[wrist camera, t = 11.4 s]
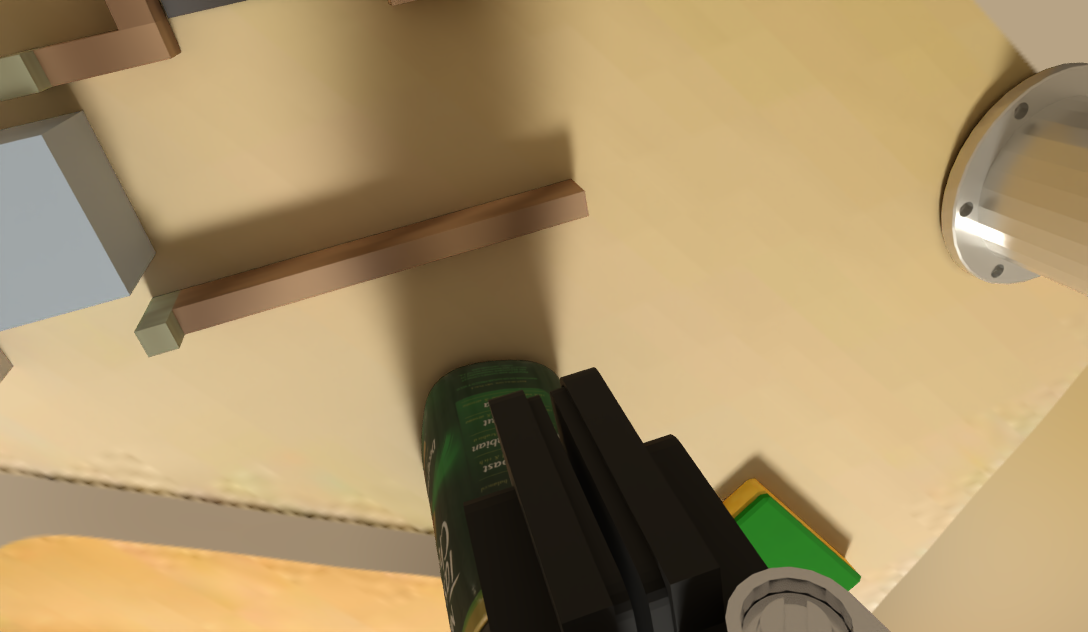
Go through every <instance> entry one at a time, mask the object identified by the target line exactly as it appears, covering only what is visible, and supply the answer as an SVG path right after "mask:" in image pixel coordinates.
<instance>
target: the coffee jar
mask: <svg viewBox="0 0 1088 632" xmlns="http://www.w3.org/2000/svg"><path fill="white" fill-rule="evenodd" d="M558 388H561V385H560V379H559V378H558V376H557V375H556V374H555V373H554V372H553V371H552V370H551V369H549V368H547V367H546V366H544V365H541V364H538V363H535V362H531V361H523V360H498V361H488V362H481V363H475V364H471V365H467V366H464V367H460V368H458V369H455V370H453V371H452V372H450V373H448V374H447V375H445V376H444V377H442V378H441V379H440V380H439V381H438V382H437V383H436V384H435V385H434V387H433V388H432V389H431V391H430V393H429V395H428V398H427V400H426V404H425V409H424V415H423V424H422V436H421V438H422V462H423V470H424V476H425V482H426V487H427V494H428V498H429V503H430V509H431V515H432V520H433V528H434V533H435V540H436V546H437V552H438V558H439V565H440V573H441V579H442V583H443V589H444V596H445V601H446V608H447V612H448V618H449V624H450V629H451V632H490V627H489V622H488V618H487V613H486V609H485V604H484V599H483V595H482V590H481V586H480V581H479V576H478V572H477V567H476V563H475V558H474V553H473V549H472V544H471V540H470V535H469V530H468V526H467V521H466V517H465V512H464V506H463V502H466V501H469V500H472V499H475V498H478V497H481V496H484V495H487V494H490V493H493V492H496V491H499V490H503V489H506V488H509V487H512V484H511V480H510V477H509V473H508V470H507V466H506V463H505V459H504V456H503V452H502V449H501V445H500V442H499V438H498V435H497V431H496V428H495V424H494V421H493V417H492V414H491V410H490V407H489V403H488V400H490V399H493V398H496V397H499V396H503V395H506V394H509V393H512V392H516V391H519V390H523V391H524V393H525V396H526V398H529V397H532V396H535V395H540V397H541V399H542V401H543V404H544V406H545V408H546V410H547V412H548V415H549V417H550V419H551V421H552V423H553V426H554V428H555V430H556V432H557V435H558V437H559V434H558V429H557V425H556V421H555V416H554V412H553V408H552V403H551V399H550V391H551V390H555V389H558ZM559 439H560V438H559Z"/></svg>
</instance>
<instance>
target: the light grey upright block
mask: <svg viewBox="0 0 1088 632" xmlns="http://www.w3.org/2000/svg"><path fill="white" fill-rule="evenodd" d="M12 367H13V365H12V364H11V362H10V361H9V360H8V358H7V357H6V356H5V354H4V353H3V352H2V350H1V349H0V383H1V381H2V380H3V379H4V378H5V376H6V375H7V374H8V372H9V371H10V370H11V369H12Z"/></svg>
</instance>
